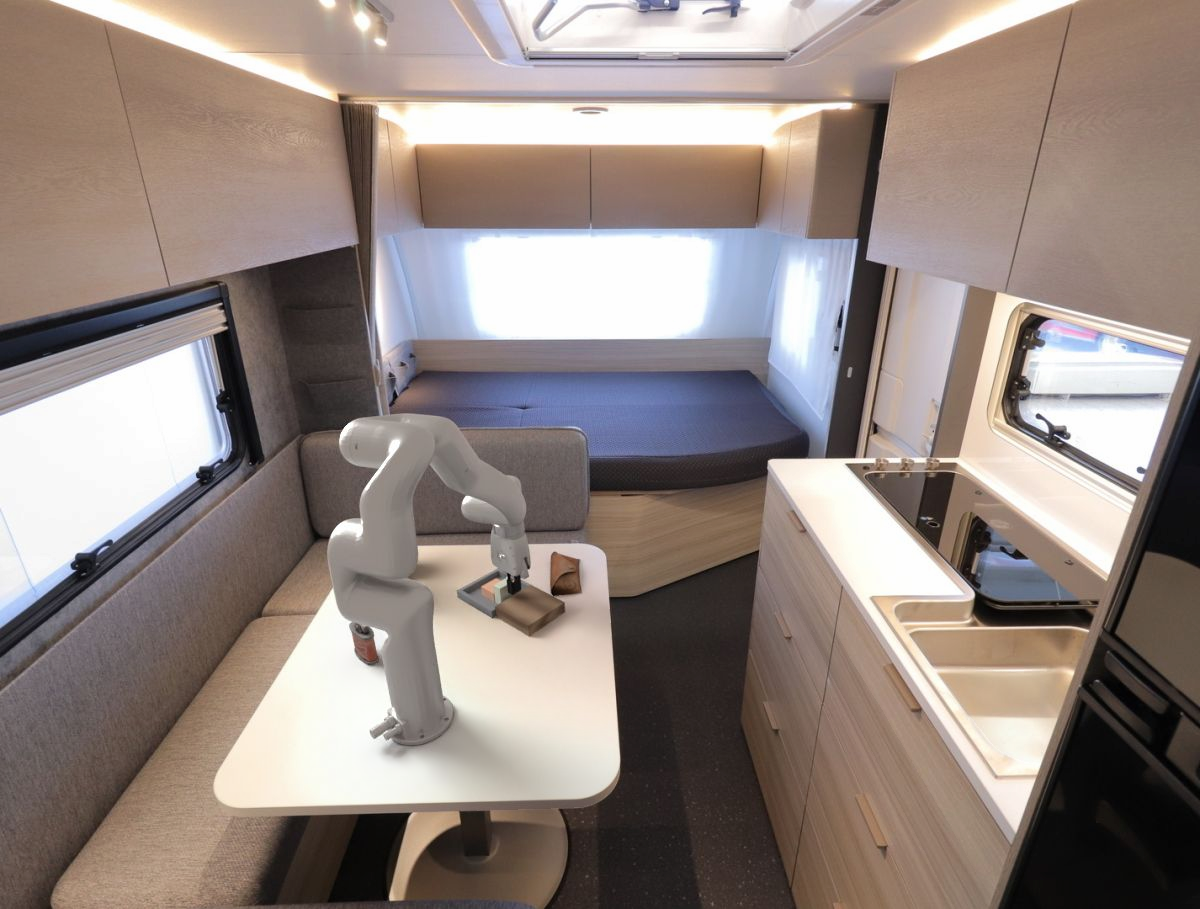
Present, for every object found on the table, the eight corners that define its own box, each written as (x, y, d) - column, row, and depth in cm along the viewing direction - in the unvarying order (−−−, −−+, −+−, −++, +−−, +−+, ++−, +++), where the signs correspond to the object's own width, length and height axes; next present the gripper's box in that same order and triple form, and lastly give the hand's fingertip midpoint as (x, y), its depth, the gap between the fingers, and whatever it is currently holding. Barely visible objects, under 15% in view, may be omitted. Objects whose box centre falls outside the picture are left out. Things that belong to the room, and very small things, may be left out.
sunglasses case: (584, 593, 159) (569, 575, 157) (561, 607, 160) (546, 589, 158) (580, 557, 176) (567, 541, 173) (559, 570, 177) (546, 553, 174)
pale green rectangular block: (499, 588, 153) (493, 585, 154) (501, 605, 155) (495, 602, 156) (515, 580, 156) (508, 576, 158) (516, 596, 158) (510, 593, 160)
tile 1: (481, 586, 158) (482, 594, 159) (493, 593, 155) (494, 601, 156) (496, 578, 162) (497, 586, 163) (508, 584, 159) (509, 593, 160)
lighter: (382, 660, 137) (375, 623, 134) (368, 668, 135) (360, 630, 132) (365, 644, 143) (357, 608, 139) (351, 652, 140) (343, 615, 137)
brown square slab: (529, 636, 144) (528, 625, 143) (496, 616, 151) (495, 606, 150) (565, 612, 152) (564, 602, 151) (532, 594, 159) (531, 584, 158)
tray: (492, 618, 151) (491, 611, 150) (457, 597, 159) (456, 590, 159) (534, 592, 160) (533, 586, 160) (499, 574, 169) (498, 567, 168)
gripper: (476, 523, 149) (483, 587, 155) (517, 542, 139) (523, 610, 146) (500, 512, 154) (506, 574, 161) (541, 530, 145) (546, 596, 151)
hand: (514, 591), depth 153 cm, fingers closed
